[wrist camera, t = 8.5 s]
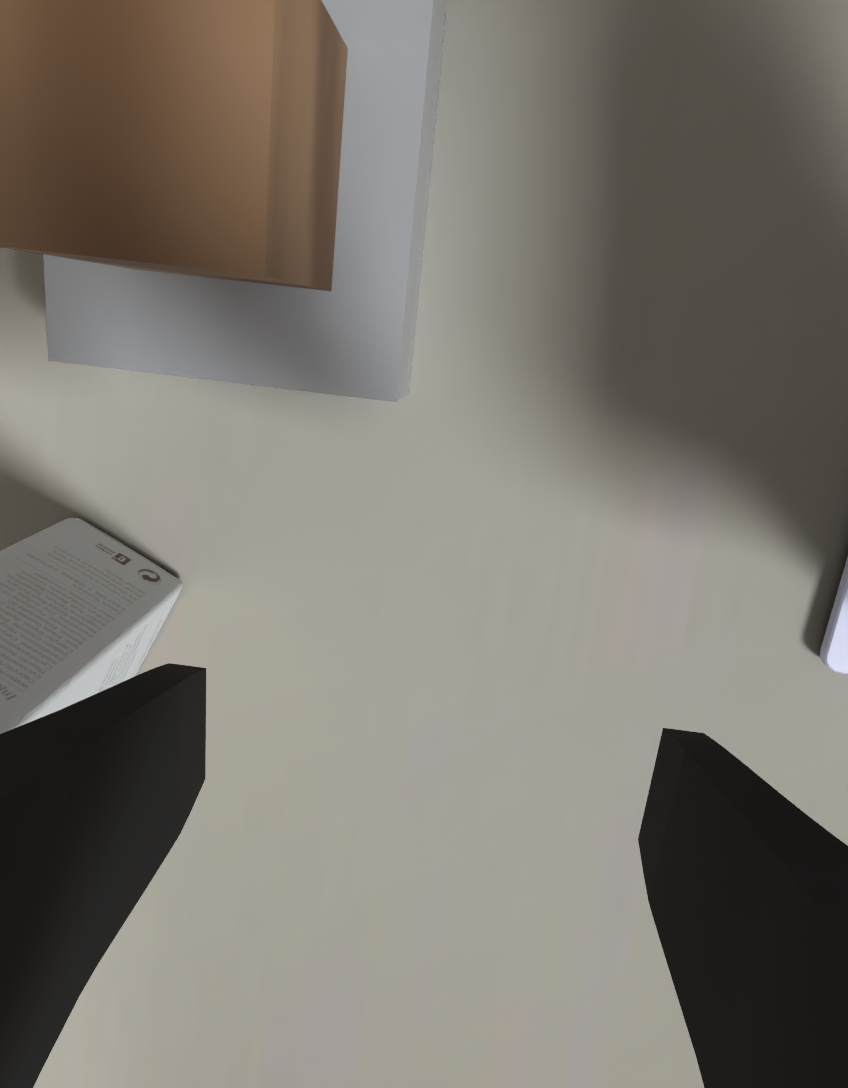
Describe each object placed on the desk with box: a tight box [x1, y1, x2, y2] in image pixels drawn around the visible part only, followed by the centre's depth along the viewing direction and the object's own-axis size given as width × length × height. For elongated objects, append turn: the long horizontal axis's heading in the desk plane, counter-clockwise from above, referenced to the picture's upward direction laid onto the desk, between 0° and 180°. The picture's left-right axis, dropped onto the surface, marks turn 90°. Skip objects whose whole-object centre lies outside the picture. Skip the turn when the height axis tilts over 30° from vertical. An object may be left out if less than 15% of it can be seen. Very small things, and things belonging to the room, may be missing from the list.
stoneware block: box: [43, 0, 446, 402], centre depth 18 cm, size 9×9×3 cm
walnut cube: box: [0, 0, 348, 291], centre depth 14 cm, size 5×5×5 cm
